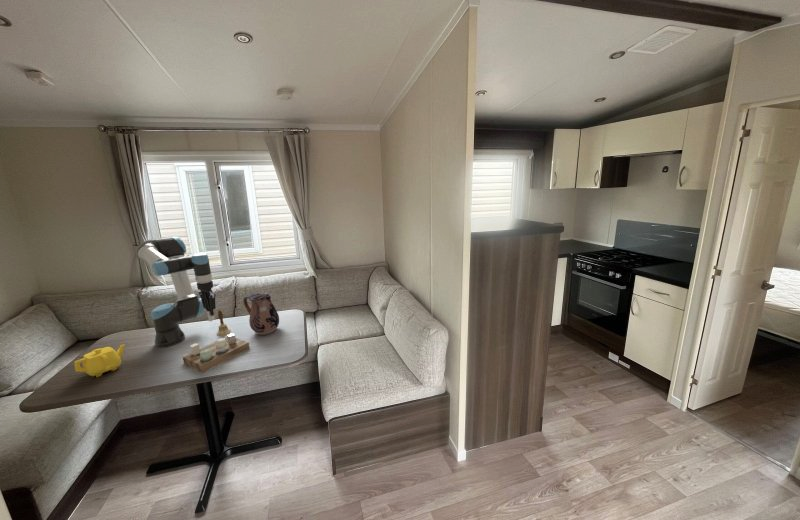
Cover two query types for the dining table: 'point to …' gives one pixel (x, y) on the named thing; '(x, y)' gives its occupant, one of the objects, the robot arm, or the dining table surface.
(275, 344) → the dining table surface
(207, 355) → the button sage
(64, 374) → the dining table surface
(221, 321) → the hand bell
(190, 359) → the console
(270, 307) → the ceramic pitcher
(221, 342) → the button ivory
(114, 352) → the teapot
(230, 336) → the slider aluminium
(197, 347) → the slider ivory
